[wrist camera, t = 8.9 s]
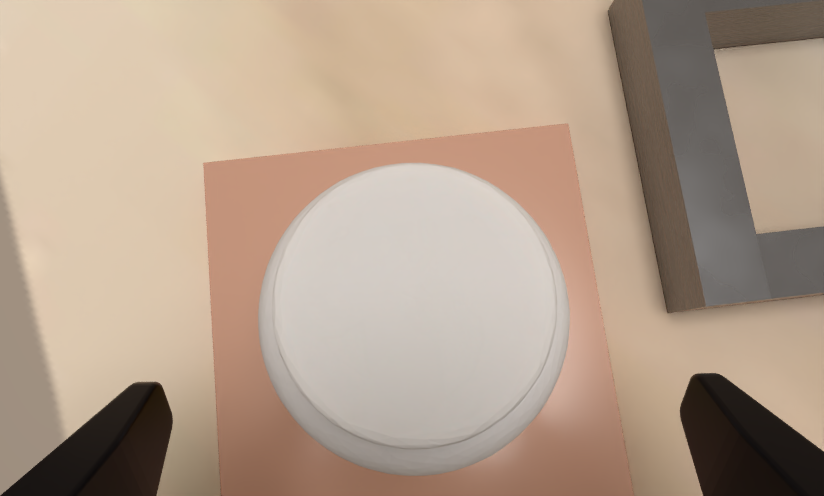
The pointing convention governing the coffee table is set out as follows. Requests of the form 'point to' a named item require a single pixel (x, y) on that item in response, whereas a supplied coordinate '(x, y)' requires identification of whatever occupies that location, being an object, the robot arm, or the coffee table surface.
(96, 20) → the coffee table surface
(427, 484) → the tile
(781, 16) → the frame
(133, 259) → the coffee table surface
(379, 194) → the supplement bottle
